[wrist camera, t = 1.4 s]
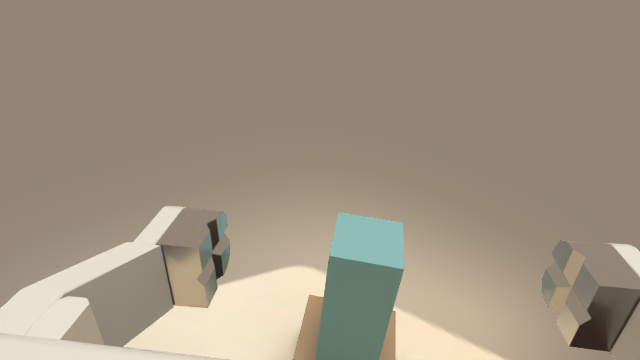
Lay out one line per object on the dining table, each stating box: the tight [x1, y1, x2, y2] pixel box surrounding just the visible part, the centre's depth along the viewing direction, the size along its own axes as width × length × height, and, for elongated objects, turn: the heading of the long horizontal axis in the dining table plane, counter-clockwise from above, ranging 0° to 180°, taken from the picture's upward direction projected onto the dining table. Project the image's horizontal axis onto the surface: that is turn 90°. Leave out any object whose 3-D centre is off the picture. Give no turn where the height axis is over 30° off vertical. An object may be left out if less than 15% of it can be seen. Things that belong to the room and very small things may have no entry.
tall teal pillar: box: [315, 212, 404, 360], centre depth 28 cm, size 4×4×12 cm
